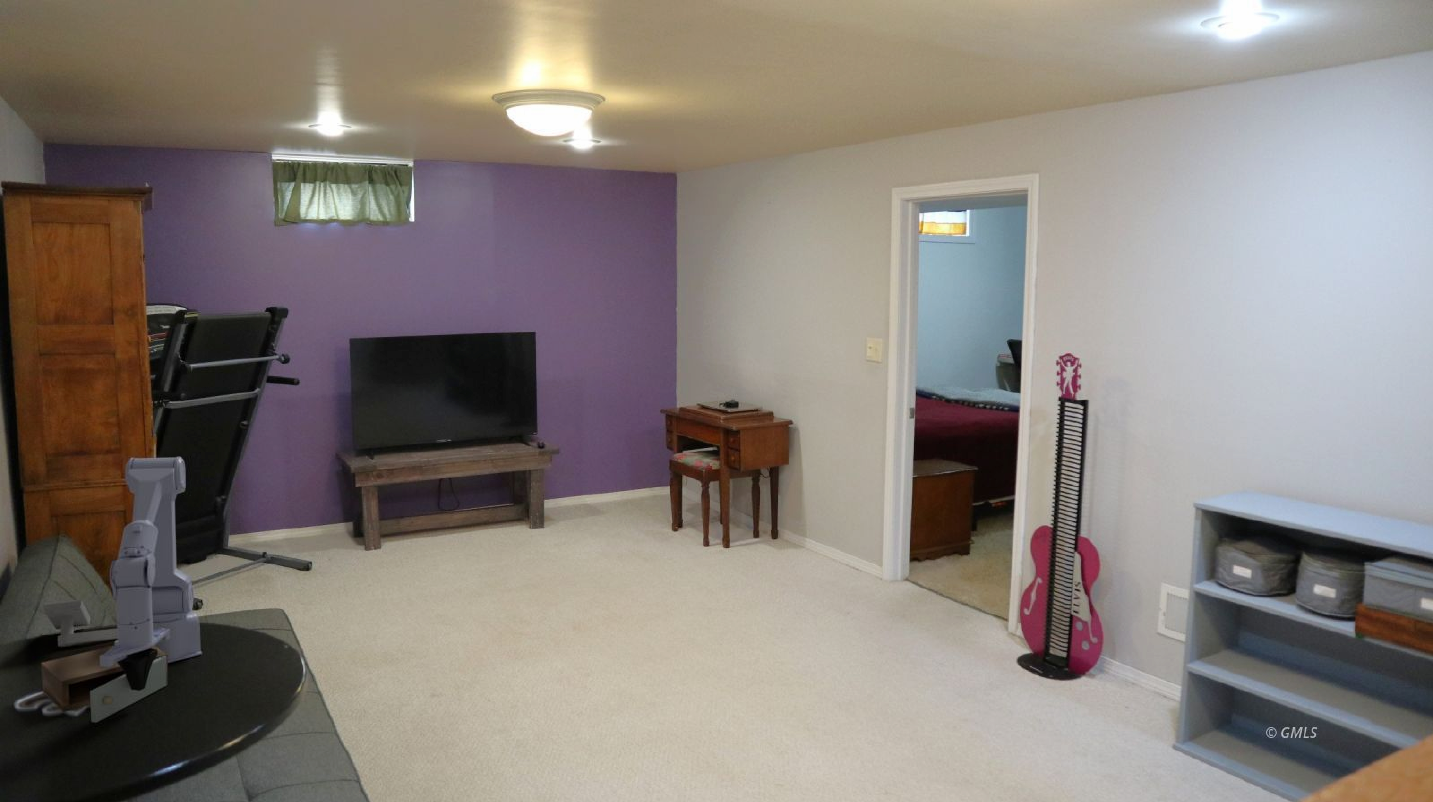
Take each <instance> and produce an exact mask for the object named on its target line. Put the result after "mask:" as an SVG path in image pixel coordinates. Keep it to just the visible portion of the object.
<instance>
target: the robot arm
mask: <svg viewBox="0 0 1433 802" xmlns="http://www.w3.org/2000/svg"><path fill="white" fill-rule="evenodd" d="M124 473H125V475H124V478H125V483H126V486H127V487H128V488H129V491H130V493H131V494H134V499H133V509H132V510H133V511H132V519H131V522H130V523H128V524H127V525H126V526H124V528H123V531H122V537H121V543H120V546H119V551H118V555H117V559H116V560H112V562H111V563H110V564H111V565H110V569H109V581H110V586H111V589H112V597H113V599H114V600H115V604H116V605H115V608H116V611H115V612H116V629H117V633H118V639H116V640H115V641H114V645H115V646H114V645H113V646H114V647H112V648H111V649H110V650H109V651H108V652H106V653H105V654H103V655H101V656H100V666H103V667H111V666H113V663H116V662H117V663H118V664H119V665H120V667H121V668H122V670H123V671H124V673H125V675H126V677H127V679H128V682H129V685H130V688H131V690H137V691H141V690H143V689H145V686H146V682H147V678H148V674H149V671H150V668H151V666H152V663H153V661H154V659H155V658H156V656H157V655H158V650H157V649H153V648H151V647H152V646H156V647H157V648H159V649H160V650H161V651H163V652H164V653H166V654H167V662H168V664H170V663H174V662H176V661H181V660H184V659H188V658H192V657H197V656H200V655H203V652H202V651H201V628H200V620H199V617H198V614H197V613H196V612H195V611H194V610H193V607H194V600H195V599H194V597H195V596H194V594H195V593H194V587H193V583H192V582H193V580H192V578H191V576H190V575H188V574H186V573H185V572H183V571H181V570H179V569H178V568H177V544H176V543H177V539H176V538H177V537H176V536H177V535H176V532H177V531H176V499H177V495H178V494H181V493H184V492H186V485H187V484H186V480H187V479H186V464H185V460H184V459H183V458H182V457H181V456H176V457H147V458H145V457H142V458H139V457H138V458H137V457H130V458H129V459H128V460H127V462H126V465H125V471H124Z"/></svg>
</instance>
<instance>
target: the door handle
mask: <svg viewBox="0 0 1433 802" xmlns="http://www.w3.org/2000/svg"><path fill="white" fill-rule="evenodd" d="M42 606H43V607H42V608H43V611H44V613H45V615H46V616H47V618H48V619H49V621H50V623H51V624H52V625H53V627H54V628H55V630H60V634H59V635H58V636H57V646H58V647H59V648H66V647H73V646H77V645H80V644H84V643H90V642H101V641H102V642H103V641H113V640H118V633H117V628H113V629H111V628H110V629H105V630H104V629H103V630H102V629H101V630H93V631H85V632H74V631H75V629H74V628H78V627H84V626H89V625H90V624H91V620H92V619H91V617H90V615H89V612H88V610H87V608H86V606H85V605H84V602H83V600H82V599H75V600H68V601H60V602H52V603H45V604H43V605H42Z"/></svg>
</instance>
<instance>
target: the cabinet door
mask: <svg viewBox="0 0 1433 802" xmlns="http://www.w3.org/2000/svg"><path fill="white" fill-rule="evenodd" d="M167 685H168V684H167V663H166V656H162V657H160V658H158V659H155V660H154V661H153V663H152V666H151V668H150V671H149V674H148V678H147V682H146V686H145V689H143V690H141V691H137V690H131V688H130V685H129V682H128V679H127V677H126V675H123V676H121V677H119V678H117V679H114V680H112V681H110V682H108V683H106V684H104V685H102V686H100V687H98V688H96V689H94V690H92V691H90V700H91V705H90V717H91V723H99V722H101V721H102V720H104V719H106V718H107V717H110V716H112V715H113V714H115V713H117V712H119V711H121V710H122V709H125V708H127V707H128V706H131V705H132V704H134V703H136V702H138V701H140V700H142V699H144V698H145V697H148V696H149V695H151V694H153V693H154V692H157V691H159V690H160V689H164V687H166V686H167Z"/></svg>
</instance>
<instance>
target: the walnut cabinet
mask: <svg viewBox="0 0 1433 802" xmlns="http://www.w3.org/2000/svg"><path fill="white" fill-rule="evenodd" d="M114 646H115V644H114V645H111V646H107V647H103V648H99V649H94V650H90V651H86V652H85V651H84V652H81V653H77V654H74V655H73V654H72V655H70V656H68V655H67V656H64V657H61V658H55V659H52V660H47V661H44V662H41V677H42V680H41V681H42V682H41V683H42V692H43V694H44V695H45V696H46V697H47V698H48V699H49V700H50V701H51V702H53V704H54V705H55V706H56V707H57V708H59V709H60V710H61V712H62V713H64V712H65V713H66V712H68V711H73V710H76V709H79V708H83V707H87V706H91V700H90V691H92V690H94V689H96V688H98V687H100V686H102V685H104V684H106V683H108V682H110V681H112V680H114V679H117V678H119V677H121V676H123V675H125V673H124V671H123V670H122V668H121V667H120V665H119V664H118V663H117V662H116V663H113V666H111V667H103V666H100V656H101V655H103V654H105V653H106V652H108V651H109V650H110V649H111V648H112V647H114ZM151 648H153V649H157V650H158V655H157V656H156V658H155V659H158V658H160V657H162V656H166V663H167V685H168V684H169V669H168V668H169V666H168V664H169V663H168V662H167V654H166V653H164V652H163V651H161V650H160V649H159V648H157V647H156V646H152V647H151ZM155 659H154V660H155Z"/></svg>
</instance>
